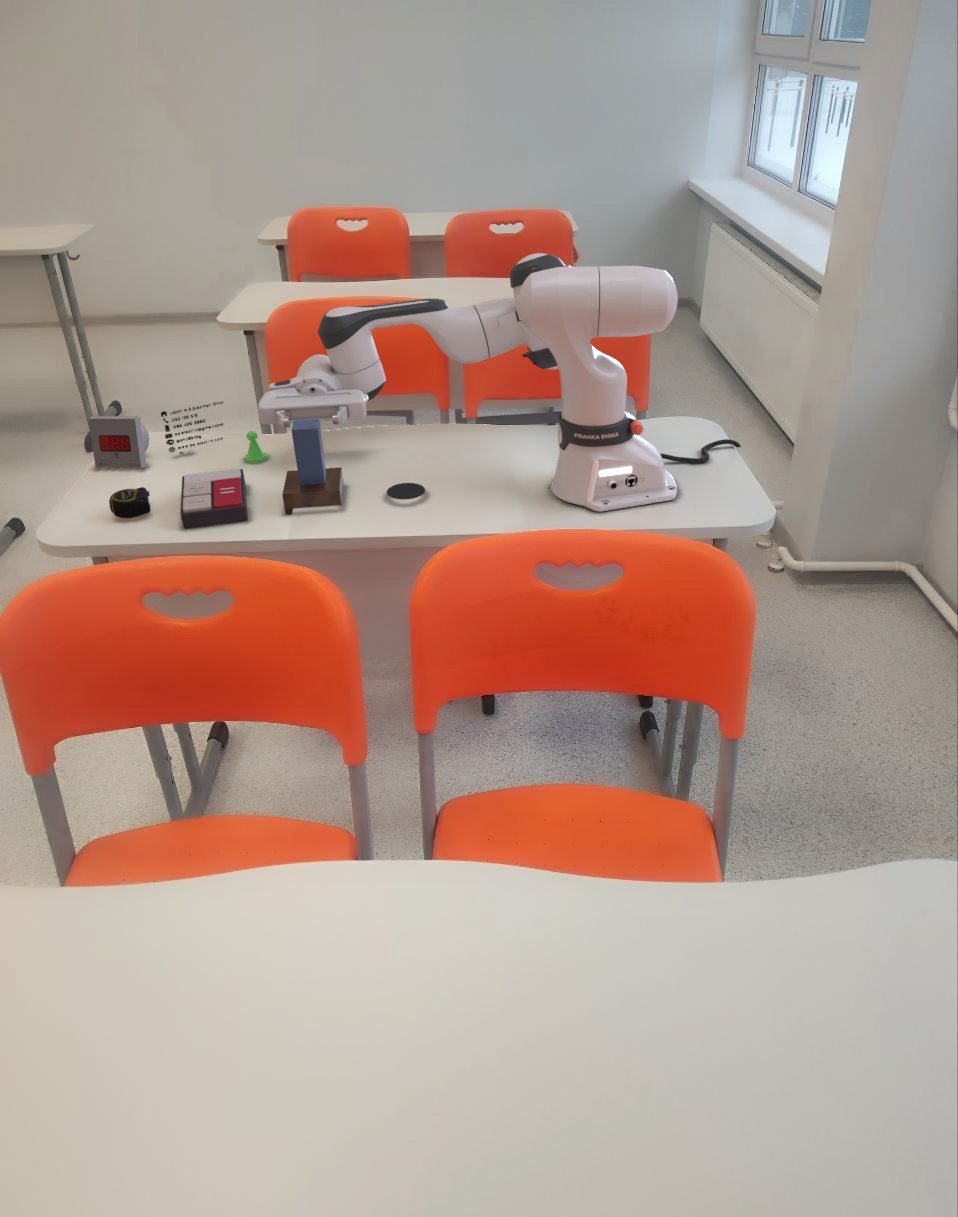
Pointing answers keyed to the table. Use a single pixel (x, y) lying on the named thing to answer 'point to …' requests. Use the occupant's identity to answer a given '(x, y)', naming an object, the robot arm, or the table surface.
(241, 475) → the calculator
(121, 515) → the tape measure
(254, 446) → the game piece
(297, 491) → the stand
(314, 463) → the block
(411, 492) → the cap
